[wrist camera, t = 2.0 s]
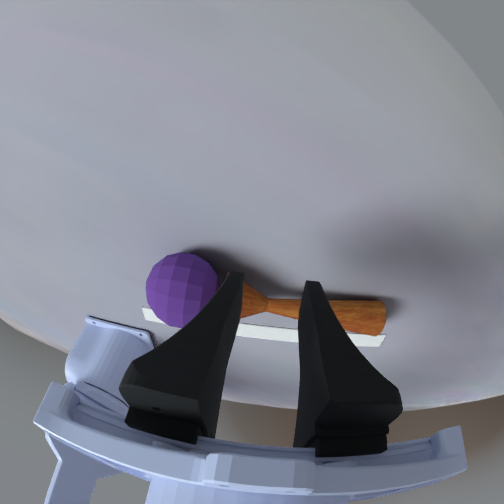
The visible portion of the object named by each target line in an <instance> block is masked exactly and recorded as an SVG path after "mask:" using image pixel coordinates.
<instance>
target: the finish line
mask: <svg viewBox="0 0 504 504" xmlns="http://www.w3.org/2000/svg"><path fill="white" fill-rule="evenodd" d="M142 309H143V313H144V316H145V319H146V320H149V321H154V322H159V323H164V322H163V321H161V320H160V319H159V318H157V317H156V315H155V314H154V312H153V311H152V309H151V308H146V307H142ZM164 324H166V323H164ZM236 335H237V336H244V337H252V338H260V339H269V340H279V341H289V342H299V341H298V329H288V328H278V327H269V326H260V325H252V324H244V323H239V326H238V329H237V333H236ZM347 335H348V336H349V338H350V339H351V340H352V342H353V343H354V345H355V346H371V347H379V346H380V345H381V343H382V341H383V340H384V338H385V336H386V335H378V336H376V337H375V336H370V335H365V334H354V333H347Z"/></svg>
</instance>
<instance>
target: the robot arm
mask: <svg viewBox="0 0 504 504" xmlns="http://www.w3.org/2000/svg"><path fill="white" fill-rule="evenodd" d="M243 280H244V273H236V272H230V273H228V275H227V277H226V278H225V280H224V282H223V283H222V285H221V286H220V287H219V289H218V290H217V291H216V293H215V294H214V295H213V297H212V298H211V299H210V300H209V301H208V303H207V304H206V305H205V306H204V307H203V308H202V309H201V310H200V312H199V313H198V314H197V315H196V316H195V317H194V318H193V319H192V320H191V321H190V322H188V323H187V324H186V325H185V326H184V327H183V328H182V329H180V330H179V331H178V332H177V333H176V334H174V335H173V336H172V337H170V338H169V339H168V340H166V341H165V342H163V343H162V344H160V345H159V346H157V347H156V348H154V346H153V343H152V340H151V337H150V334H149V333H148V332H147V331H143V330H139V329H134V328H130V327H126V326H122V325H118V324H114V323H110V322H106V321H103V320H99V319H95V318H92V317H88V316H87V317H86V318H85V320H86V322H87V324H86V326H85V327H84V329H83V331H82V332H81V334H80V336H79V337H78V339H77V341H76V342H75V344H74V346H73V348H72V349H71V351H70V353H69V355H68V357H67V360H66V365H65V375H66V379H67V381H68V383H65V385H64V386H63V385H60V384H59V383H56V382H54V381H53V382H52V383H51V384H50V386H49V388H48V390H47V392H46V394H45V396H44V398H43V400H42V402H41V405H40V407H39V409H38V411H37V413H36V415H35V418H34V420H33V422H34V424H36V425H37V426H38V427H40V428H41V429H43V430H44V431H45V438H46V440H47V442H48V443H49V445H50V447H51V448H52V450H53V452H54V453H55V455H56V456H57V458H58V463H57V466H56V469H55V471H54V474H53V477H52V480H51V483H50V486H49V489H48V492H47V495H46V499H45V502H44V504H89V502H90V499H91V496H92V493H93V490H94V487H95V484H96V481H97V479H99V478H104V477H109V476H115V475H118V474H121V473H123V472H126V473H128V474H131V475H134V476H136V477H139V478H142V479H145V480H148V481H151V483H150V487H149V491H148V495H147V499H146V502H145V504H348V502H349V501H357V500H364V499H369V498H376V497H381V496H386V495H391V494H396V493H400V492H404V491H409V490H413V489H416V488H420V487H424V486H427V485H431V484H434V483H437V482H440V481H442V480H445V479H447V478H449V477H452V476H454V475H456V474H458V473H461V472H463V471H465V470H466V469H467V462H466V455H465V449H464V443H463V437H462V432H461V427H460V426H455V427H451V428H447V429H443V430H440V431H438V432H436V433H435V434H433V435H432V436H431V437H427V438H422V439H417V440H411V441H405V442H398V443H391V444H387V437H386V434H388V433H389V426H388V425H389V424H390V423H391V422H393V421H394V420H395V419H396V418H397V417H398V416H399V415H400V414H401V413H402V410H403V407H402V401H401V397H400V393H399V390H398V388H397V387H396V386H394V385H393V384H392V383H391V382H390V381H388V380H387V379H386V378H385V377H384V376H383V375H381V374H380V373H379V372H378V371H377V370H376V369H375V368H374V367H373V366H372V365H371V364H370V362H369V361H368V360H367V359H366V358H365V357H364V356H363V355H362V354H361V352H360V351H359V350H358V348H357V347H356V346H355V345H354V343H353V342H352V340H351V339H350V338H349V336H348V335H347V333H346V332H345V330H344V329H343V327H342V325H341V324H340V322H339V320H338V319H337V317H336V315H335V313H334V311H333V309H332V307H331V305H330V304H329V301H328V299H327V297H326V295H325V293H324V291H323V288H322V286H321V284H320V282H316V281H307V280H306V283H305V287H304V292H303V296H302V300H301V304H300V308H299V316H298V341H299V359H300V386H299V399H298V410H297V420H296V428H295V436H294V443H293V447H277V446H265V445H255V444H246V443H238V442H231V441H225V440H218V439H215V434H216V428H217V427H216V426H217V421H218V415H219V409H220V401H221V396H222V391H223V385H224V379H225V374H226V368H227V364H228V360H229V357H230V353H231V350H232V346H233V343H234V340H235V336H236V333H237V329H238V326H239V321H240V315H241V309H242V300H243ZM188 451H189V452H188ZM191 452H194V453H191Z"/></svg>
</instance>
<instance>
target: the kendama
mask: <svg viewBox="0 0 504 504" xmlns="http://www.w3.org/2000/svg"><path fill="white" fill-rule="evenodd" d="M228 273H229V272H227V275H228ZM227 275H226V277H227ZM219 287H220V283H219V279H218V275H217V274H216V272H215V271H214V270H213V268H212V267H211V265H210V264H209V263H208V262H207V261H205V260H203V259H202V258H200V257H199V256H197V255H194V254H189V253H183V252H180V253H176V254H172V255H167V256H166V257H165V258H163V259H162V260H161V261H159V262H158V263H157V264H155V265H154V267H153V269H152V270H151V272H150V274H149V276H148V278H147V281H146V294H147V302H148V304H149V306H150V307H151V309H152V311H153V312H154V314H155V315H156V317H157V318H159V319H160V320H161V321H163V322H164V323H166V324H167V325H169V326H173V327H178V328H183V327H184V326H185V325H186V324H187V323H188V322H190V321H191V320H192V319H193V318H194V317H195V316H196V315H197V314H198V313H199V312H200V310H201V309H202V308H203V307H204V306H205V305H206V304H207V303H208V301H209V300H210V299H211V298H212V297H213V295H214V294H215V293H216V291H217V290H218V289H219ZM328 301H329V304H330V305H331V307H332V309H333V311H334V313H335V315H336V317H337V319H338V320H339V322H340V324H341V325H342V327H343V329H344V330H346V331H351V332H356V333H360V334H365V335H370V336H375V337H376V336H378V335H379V334H380V333H381V332H382V330H383V328H384V325H385V322H386V308H385V305H384V303H383V302H382V301H348V300H328ZM300 304H301V300H300V299H273V298H267V297H265V296H264V295H262V294H261V293H259V292H258V291H256V290H255V289H253V288H251V287H250V286H248V285H247V284H245V283H244V282H243V300H242V309H241V315H240V318H244V317H247V316H251V315H255V314H258V313H262V312H265V311H266V312H270V313H274V314H278V315H282V316H286V317H290V318H294V319H298V316H299V308H300Z"/></svg>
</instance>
